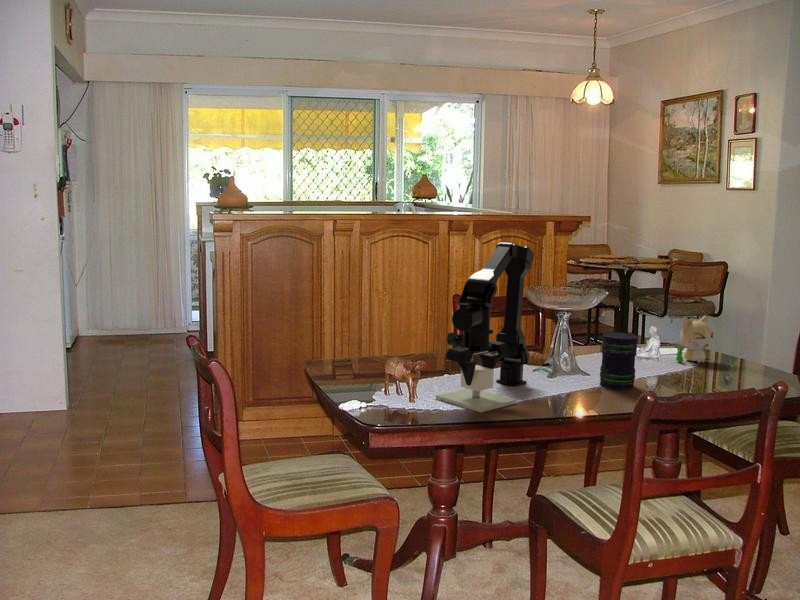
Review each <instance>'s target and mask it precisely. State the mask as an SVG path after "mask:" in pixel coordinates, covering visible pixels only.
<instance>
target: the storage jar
mask: <svg viewBox="0 0 800 600" xmlns="http://www.w3.org/2000/svg"><path fill="white" fill-rule="evenodd" d="M637 340H638V336H637V334H634V333H629V332H619V331H610V332H609V331H607V332H604V333H602V342H601V350H600V351H601V355H602V356H601V365H600V368H599V371H600V372H599V380H600V381H599V386H600V385H601V386H602V387H601V386H600V387H601V388H603V387H604V389H607V390H612V391H613V390H614V391H631V390H633V389H634V388H635V385H634V383H635V379H636V368H635V363H636V356H637V350H638V341H637Z"/></svg>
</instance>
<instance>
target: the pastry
mask: <svg viewBox="0 0 800 600" xmlns="http://www.w3.org/2000/svg"><path fill="white" fill-rule="evenodd" d="M528 352H529V354H530V360H529V363H528V364H527V365H534V366H544V365H543V364H544V363H545V361H546V360H547V358H549V357H548V356H546V355H544V354H542V353H539V352H538V351H533V350H531V351H529V350H528Z"/></svg>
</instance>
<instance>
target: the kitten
mask: <svg viewBox="0 0 800 600" xmlns="http://www.w3.org/2000/svg"><path fill="white" fill-rule="evenodd" d="M679 341H680V343H681V345H682V346H683V347H684V348H685V349H686V350H685V351H684V355H683V356H682V354H683V347H680V348H679V349H678V351H676V352H677V353H676V359H675V361H676V360H677V361H678V362H683V363H684V359H685V360H686V361H689V360H690V362H694V361H697V363H698V362H699V363H698V364H700V363H705V362H706V354H705V351H704V350H706V349H708V348H710V347H711V346H712V344H713V342H714V332H713V330H712V328H711V326H710V325H709V324H708V316H707V315H706V314H705V315H703V316H702V317H701V318H700V319H699V320H692V319H690V318H689V317H687V316H684V317H683V319H682V328H681V330H680V334H679Z"/></svg>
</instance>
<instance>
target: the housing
mask: <svg viewBox="0 0 800 600" xmlns="http://www.w3.org/2000/svg"><path fill="white" fill-rule="evenodd" d="M494 370H495V368H494V369H491V368H487V367H483V366H482V365H478V364H476V366H475V370H474V374H473V379H472V382H471V385H467V384H466V381H465V378H464V375H463V372H462V369H461V368H460V371H461V372H460V373H461V374H460V387H461V388H463V389H466V388H468V389H471V390H475V391H481V390H483V391H486V390H488V389H493V388H494Z"/></svg>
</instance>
